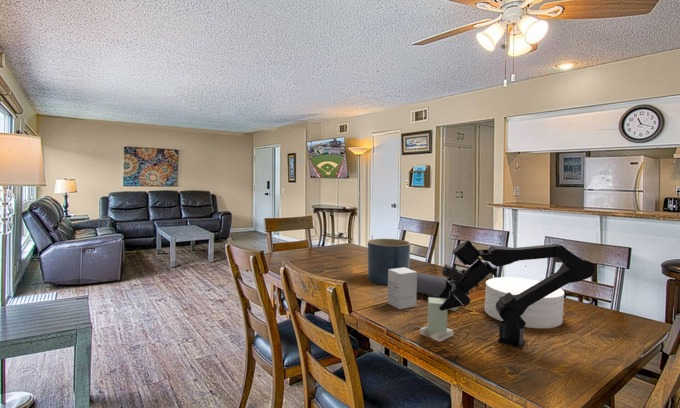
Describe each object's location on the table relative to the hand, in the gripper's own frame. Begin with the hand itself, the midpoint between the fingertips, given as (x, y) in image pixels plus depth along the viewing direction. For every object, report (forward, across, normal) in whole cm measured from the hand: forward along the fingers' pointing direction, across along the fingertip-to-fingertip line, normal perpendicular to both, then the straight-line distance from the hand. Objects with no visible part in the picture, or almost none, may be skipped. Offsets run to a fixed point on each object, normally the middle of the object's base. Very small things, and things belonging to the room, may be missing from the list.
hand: (439, 304), depth 126 cm
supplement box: (+17, -28, -2) cm, 32 cm away
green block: (+6, 0, +6) cm, 9 cm away
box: (+2, -28, +13) cm, 31 cm away
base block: (+8, 0, +8) cm, 11 cm away
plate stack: (-17, -28, +32) cm, 46 cm away
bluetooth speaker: (+5, -40, +10) cm, 42 cm away
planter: (+22, -66, -7) cm, 70 cm away
